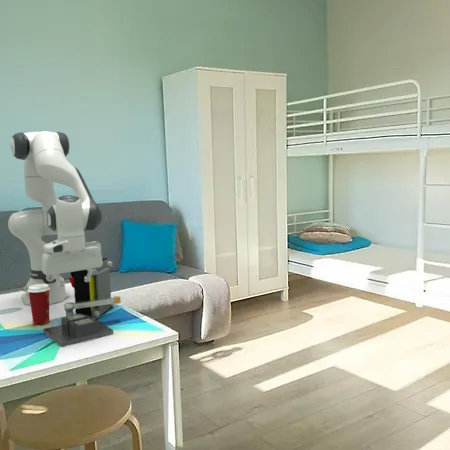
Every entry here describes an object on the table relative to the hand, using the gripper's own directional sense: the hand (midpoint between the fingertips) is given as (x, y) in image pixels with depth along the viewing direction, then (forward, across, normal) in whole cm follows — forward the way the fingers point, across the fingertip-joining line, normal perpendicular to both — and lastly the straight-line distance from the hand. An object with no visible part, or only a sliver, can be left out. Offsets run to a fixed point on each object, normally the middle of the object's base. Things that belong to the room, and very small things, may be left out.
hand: (74, 284), depth 173 cm
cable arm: (+11, -8, -5) cm, 14 cm away
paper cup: (+18, +6, -20) cm, 27 cm away
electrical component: (+18, -14, -18) cm, 29 cm away
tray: (+17, 0, 0) cm, 17 cm away
